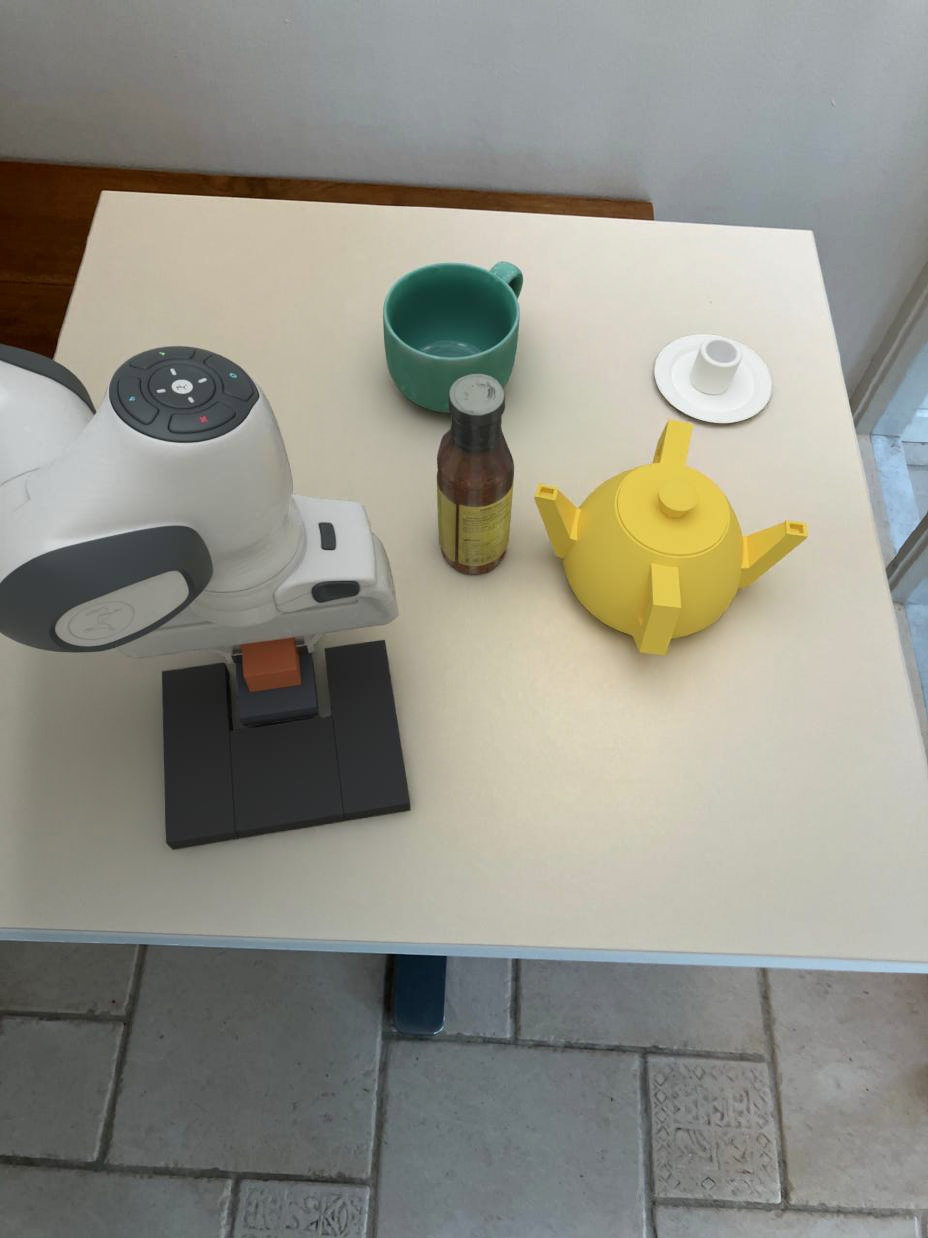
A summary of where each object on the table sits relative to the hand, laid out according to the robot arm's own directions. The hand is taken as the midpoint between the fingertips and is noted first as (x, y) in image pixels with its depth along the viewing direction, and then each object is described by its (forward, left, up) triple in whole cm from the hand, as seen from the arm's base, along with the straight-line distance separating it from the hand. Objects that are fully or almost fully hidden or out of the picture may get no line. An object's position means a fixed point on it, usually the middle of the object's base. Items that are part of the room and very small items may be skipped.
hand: (271, 650), depth 70 cm
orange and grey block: (0, 0, -3) cm, 3 cm away
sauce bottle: (+18, +10, -4) cm, 21 cm away
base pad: (0, -6, -4) cm, 8 cm away
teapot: (+33, +5, -4) cm, 34 cm away
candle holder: (+46, +26, -4) cm, 53 cm away
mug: (+21, +31, -4) cm, 37 cm away
